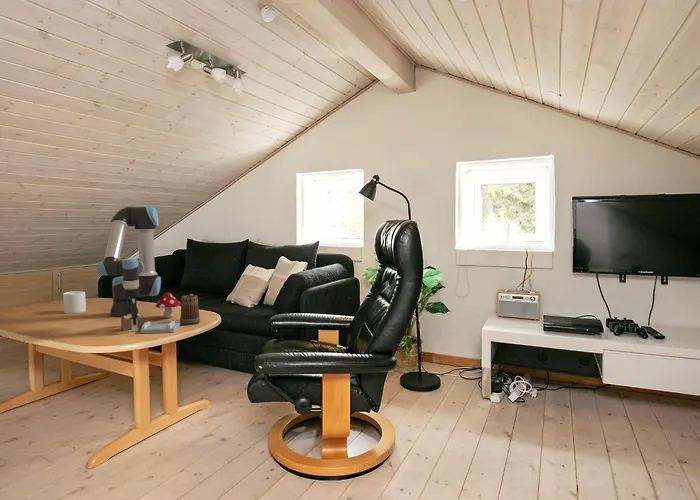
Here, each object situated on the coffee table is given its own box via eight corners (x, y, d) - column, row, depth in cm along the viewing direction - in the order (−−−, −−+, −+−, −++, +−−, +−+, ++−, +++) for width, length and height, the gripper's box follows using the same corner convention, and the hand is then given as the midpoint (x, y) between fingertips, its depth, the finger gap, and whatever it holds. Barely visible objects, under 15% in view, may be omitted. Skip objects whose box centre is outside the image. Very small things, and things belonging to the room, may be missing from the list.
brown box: (121, 328, 243) (120, 315, 242) (141, 326, 248) (141, 313, 248) (123, 331, 237) (123, 318, 236) (144, 328, 243) (143, 315, 242)
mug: (198, 324, 250) (197, 297, 249) (178, 325, 249) (177, 298, 248) (202, 318, 266) (202, 292, 265) (183, 319, 264) (183, 293, 263)
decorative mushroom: (178, 313, 278) (177, 289, 276) (184, 318, 266) (183, 292, 265) (153, 316, 270) (152, 291, 269) (158, 321, 258) (157, 295, 257)
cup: (83, 308, 293) (82, 290, 292) (88, 311, 284) (87, 292, 283) (62, 311, 285) (61, 292, 284) (66, 314, 276) (65, 295, 275)
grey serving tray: (149, 326, 247) (149, 320, 247) (180, 325, 249) (180, 319, 249) (140, 333, 232) (140, 326, 232) (173, 332, 235) (173, 325, 234)
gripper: (120, 285, 249) (122, 324, 251) (126, 292, 229) (128, 334, 230) (135, 284, 253) (137, 322, 255) (142, 290, 233) (144, 332, 234)
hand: (132, 328), depth 243 cm, fingers open, 12 cm apart
